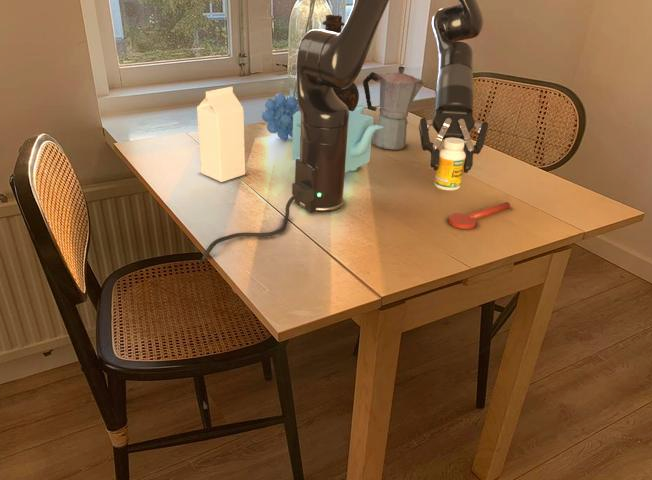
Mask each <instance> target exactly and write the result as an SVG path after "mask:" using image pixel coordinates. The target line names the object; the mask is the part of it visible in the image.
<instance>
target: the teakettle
mask: <svg viewBox="0 0 652 480" xmlns="http://www.w3.org/2000/svg"><path fill="white" fill-rule="evenodd" d="M366 107H367V103H360V104H357V106H356V108H355V110H354V111H349V121H348V135H347V149H346V163H345V174H346V173H348V172H350V171H352V172H353V171H357V170H359V169H358V168H360V167H361V166H364V165H367V164H369V163H370V159H371V151H372V150H371V149H372V138H373V135H374V132H375V131H377V130H378V129H382V128H383V127H382V126H379V125H377V124H374V116H371V115H367V114H365V113H362V112H363V111H364V109H365V108H366ZM300 132H301V112H300V111H297V112H296V113H295V114H293V138H292V146H291V147H292V148H291V149H292V150H291V151H292V153H291V155H292V156H291V158H292V160H293V161H296V159H297V158H300Z"/></svg>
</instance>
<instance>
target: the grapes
mask: <svg viewBox="0 0 652 480" xmlns="http://www.w3.org/2000/svg"><path fill="white" fill-rule="evenodd" d="M264 107H265V108H266V110H264V111H263V112H262V114H261V118H262V119H263V121H264V122H266V123H267V125H266V128H267V131H268V132H269V133H271V134H276V135H277V137H278V138H279V139H280V140H287V139H288V138H289V137H290V138H292V139H293V114H295V113H296V112H297V111H300V109H299V107H298V102H297V98H296V97H295V96H291V95H290V96H288V97H286V96H285V95H284V94H283V93H277V94H275V95H274V99H271V98H268V99H267V100H265V103H264Z"/></svg>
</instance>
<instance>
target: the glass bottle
mask: <svg viewBox="0 0 652 480" xmlns="http://www.w3.org/2000/svg"><path fill="white" fill-rule="evenodd" d="M342 18H343V16H342V15H339V14H338V15H334V14H327V15H325V20H323V21H322V25H324V26H325V29H324V30H326V31H331V32H336V33H341V31H342V27H344V26H345V23H344V22H342V21H343V20H342ZM333 90H334V92H335V94H336V96H337V97H338V98H339V99H340V100H341V101H342V102H343V103H344V104H345V105H346V106H347V107H348V109H349V111H354V110H355V108H356V107H357V106H358V105H359V101H360V93H359V92H360V91H359V89H358V86H357V84H356V83H355V81H354V82H353V83H352V84H351V85H350V86H349V87H347V88H345V89H336V88H333Z"/></svg>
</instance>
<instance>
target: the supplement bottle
mask: <svg viewBox="0 0 652 480" xmlns="http://www.w3.org/2000/svg"><path fill="white" fill-rule="evenodd" d="M464 144H465V141H464V140H462V139H460V138H453V137H451V138H446V139H445V140H444V139H443V148H441V149H439V150H440V151H439V167H438V170H437V171H435V176H434V182H433V183H434V186H435V187H436V188H438V189H439V190H443V191H456V190H459V188H460V187H461V184H462V179H463V173H464V172H463V171H464V164H465V158H466V154H465V152H464V150H463V148H464Z"/></svg>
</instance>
